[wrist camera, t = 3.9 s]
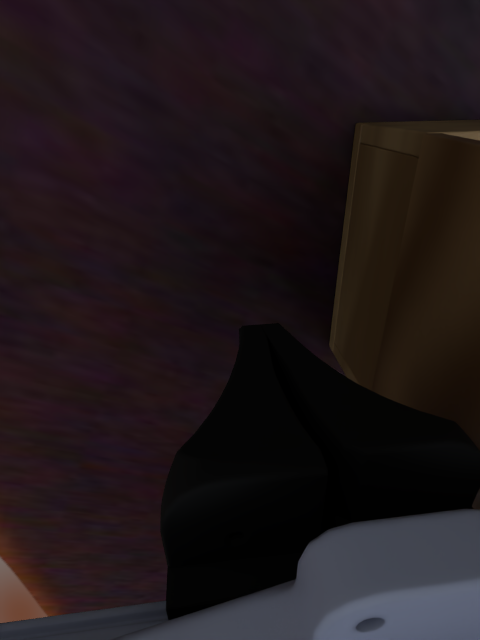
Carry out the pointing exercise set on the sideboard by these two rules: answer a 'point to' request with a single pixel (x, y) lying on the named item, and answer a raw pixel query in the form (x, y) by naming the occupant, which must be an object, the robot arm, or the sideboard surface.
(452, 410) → the tea box lid
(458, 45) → the sideboard surface
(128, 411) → the sideboard surface
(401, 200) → the tea box
